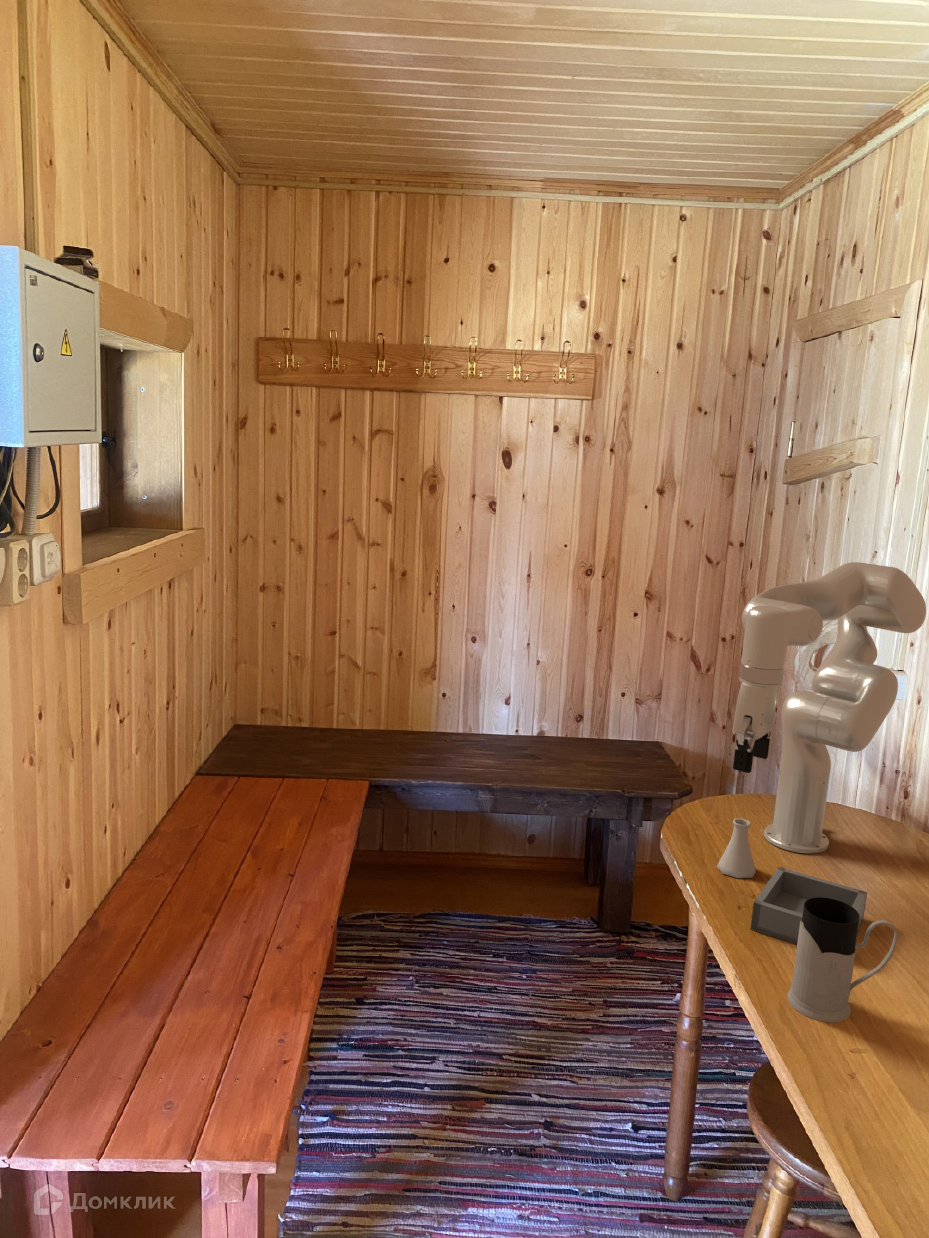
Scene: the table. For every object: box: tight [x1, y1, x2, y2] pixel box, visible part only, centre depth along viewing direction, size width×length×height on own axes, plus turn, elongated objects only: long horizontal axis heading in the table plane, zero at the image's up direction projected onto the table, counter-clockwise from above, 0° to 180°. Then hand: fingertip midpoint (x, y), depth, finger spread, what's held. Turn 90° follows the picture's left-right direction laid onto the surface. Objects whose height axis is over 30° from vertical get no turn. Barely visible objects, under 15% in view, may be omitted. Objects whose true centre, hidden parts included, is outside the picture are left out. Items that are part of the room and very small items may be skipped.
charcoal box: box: [749, 866, 868, 946], centre depth 156 cm, size 16×15×5 cm
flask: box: [716, 817, 757, 879], centre depth 174 cm, size 7×7×10 cm
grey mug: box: [786, 897, 899, 1023], centre depth 133 cm, size 9×14×15 cm, turn 88°
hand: (750, 763), depth 170 cm, fingers open, 9 cm apart
